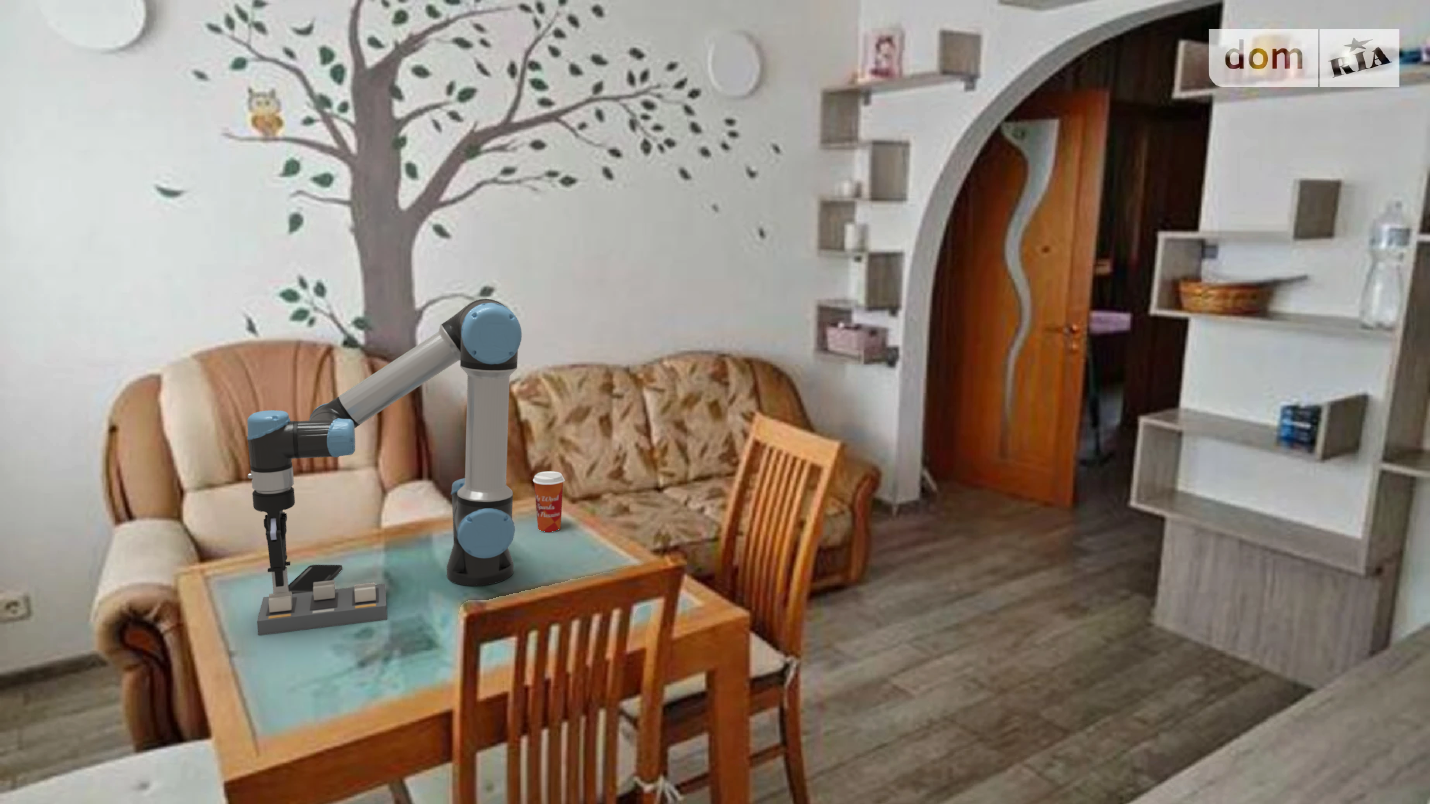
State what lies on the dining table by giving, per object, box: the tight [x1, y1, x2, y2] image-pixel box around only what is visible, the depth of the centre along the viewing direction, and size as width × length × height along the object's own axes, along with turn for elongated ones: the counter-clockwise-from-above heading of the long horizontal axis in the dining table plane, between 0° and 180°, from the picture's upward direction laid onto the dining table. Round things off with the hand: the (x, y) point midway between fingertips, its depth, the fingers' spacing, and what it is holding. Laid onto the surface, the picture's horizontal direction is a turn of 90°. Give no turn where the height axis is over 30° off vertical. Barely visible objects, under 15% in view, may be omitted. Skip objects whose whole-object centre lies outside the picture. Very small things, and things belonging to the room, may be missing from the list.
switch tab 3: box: [353, 581, 376, 603], centre depth 189 cm, size 4×3×3 cm
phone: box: [288, 564, 343, 594], centre depth 206 cm, size 8×1×15 cm
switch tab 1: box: [268, 592, 293, 612], centre depth 184 cm, size 4×3×3 cm
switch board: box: [256, 583, 388, 636], centre depth 189 cm, size 24×12×3 cm, turn 111°
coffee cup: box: [532, 470, 566, 533], centre depth 242 cm, size 8×8×15 cm
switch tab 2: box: [313, 579, 336, 600], centre depth 190 cm, size 4×3×3 cm
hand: (281, 598), depth 186 cm, fingers closed
